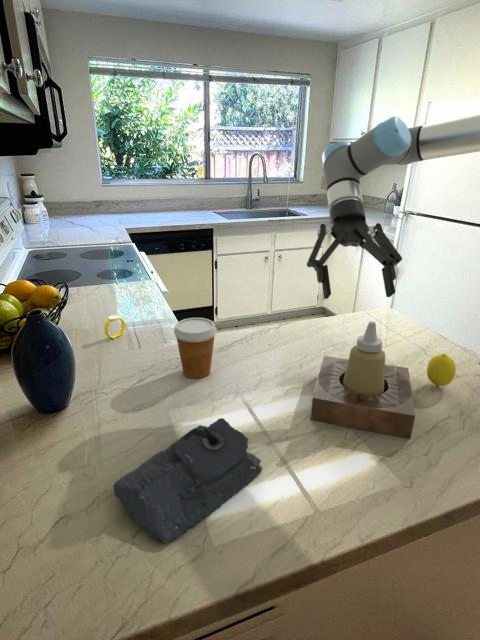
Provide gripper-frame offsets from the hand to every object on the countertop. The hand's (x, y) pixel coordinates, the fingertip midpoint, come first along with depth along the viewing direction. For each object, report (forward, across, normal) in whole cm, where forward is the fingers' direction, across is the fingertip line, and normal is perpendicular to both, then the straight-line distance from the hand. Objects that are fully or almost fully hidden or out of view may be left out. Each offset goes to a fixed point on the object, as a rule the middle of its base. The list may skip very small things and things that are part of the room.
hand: (359, 295), depth 84 cm
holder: (+21, +1, -6) cm, 22 cm away
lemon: (+18, -19, -10) cm, 28 cm away
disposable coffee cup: (+12, +35, -17) cm, 40 cm away
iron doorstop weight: (+33, +35, +8) cm, 49 cm away
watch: (-2, +57, -34) cm, 66 cm away
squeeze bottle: (+22, +1, -6) cm, 22 cm away
